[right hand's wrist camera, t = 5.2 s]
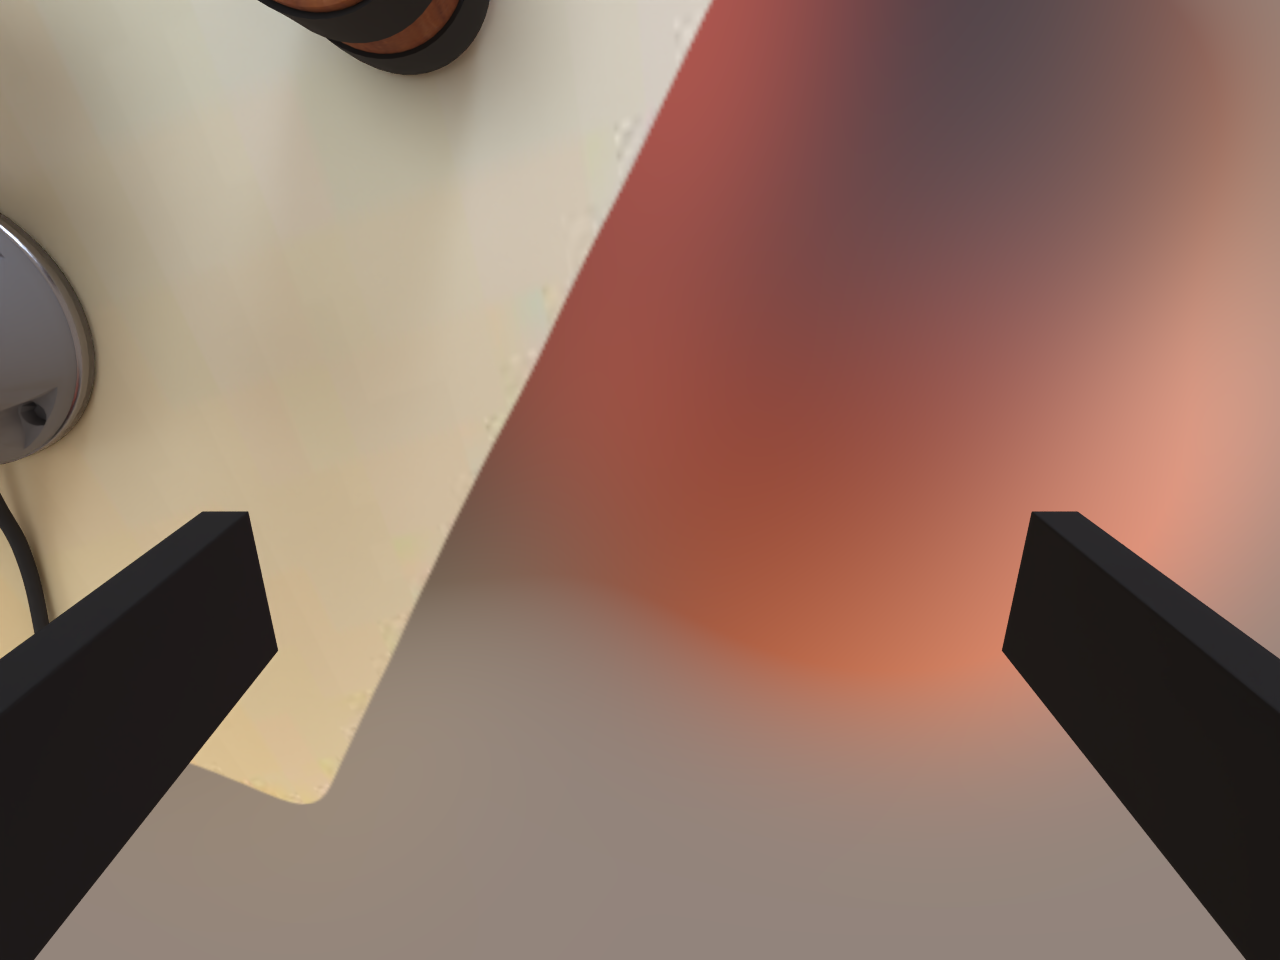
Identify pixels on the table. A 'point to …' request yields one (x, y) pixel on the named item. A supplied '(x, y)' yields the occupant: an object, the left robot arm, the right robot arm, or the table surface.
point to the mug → (392, 29)
